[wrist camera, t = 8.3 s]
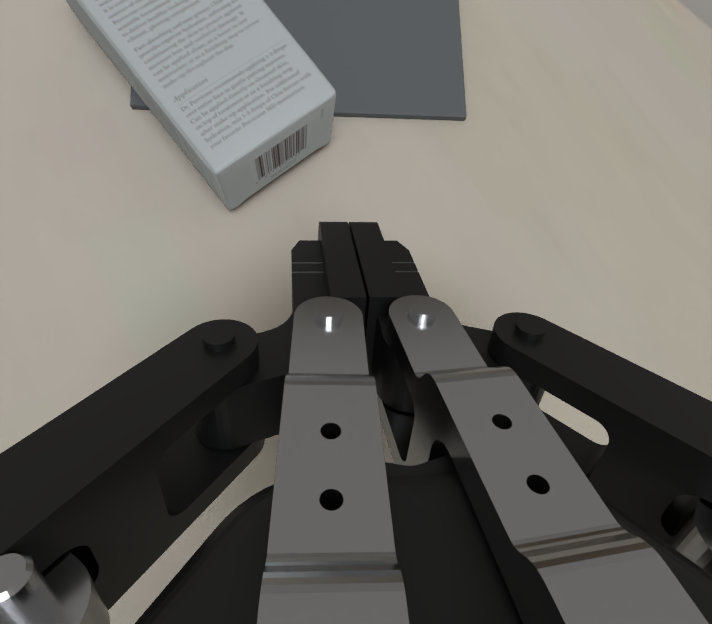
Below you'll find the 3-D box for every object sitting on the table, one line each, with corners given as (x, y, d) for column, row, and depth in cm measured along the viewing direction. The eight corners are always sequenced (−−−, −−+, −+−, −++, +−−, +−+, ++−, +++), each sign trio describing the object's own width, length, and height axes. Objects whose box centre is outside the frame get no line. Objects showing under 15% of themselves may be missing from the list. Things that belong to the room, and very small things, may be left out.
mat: (464, 120, 24) (466, 117, 24) (132, 108, 22) (130, 105, 22) (450, -87, 26) (452, -92, 26) (140, -114, 24) (138, -121, 24)
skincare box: (332, 144, 23) (183, -46, 23) (340, 92, 19) (158, -139, 19) (227, 216, 22) (73, 14, 22) (210, 177, 18) (20, -70, 18)
